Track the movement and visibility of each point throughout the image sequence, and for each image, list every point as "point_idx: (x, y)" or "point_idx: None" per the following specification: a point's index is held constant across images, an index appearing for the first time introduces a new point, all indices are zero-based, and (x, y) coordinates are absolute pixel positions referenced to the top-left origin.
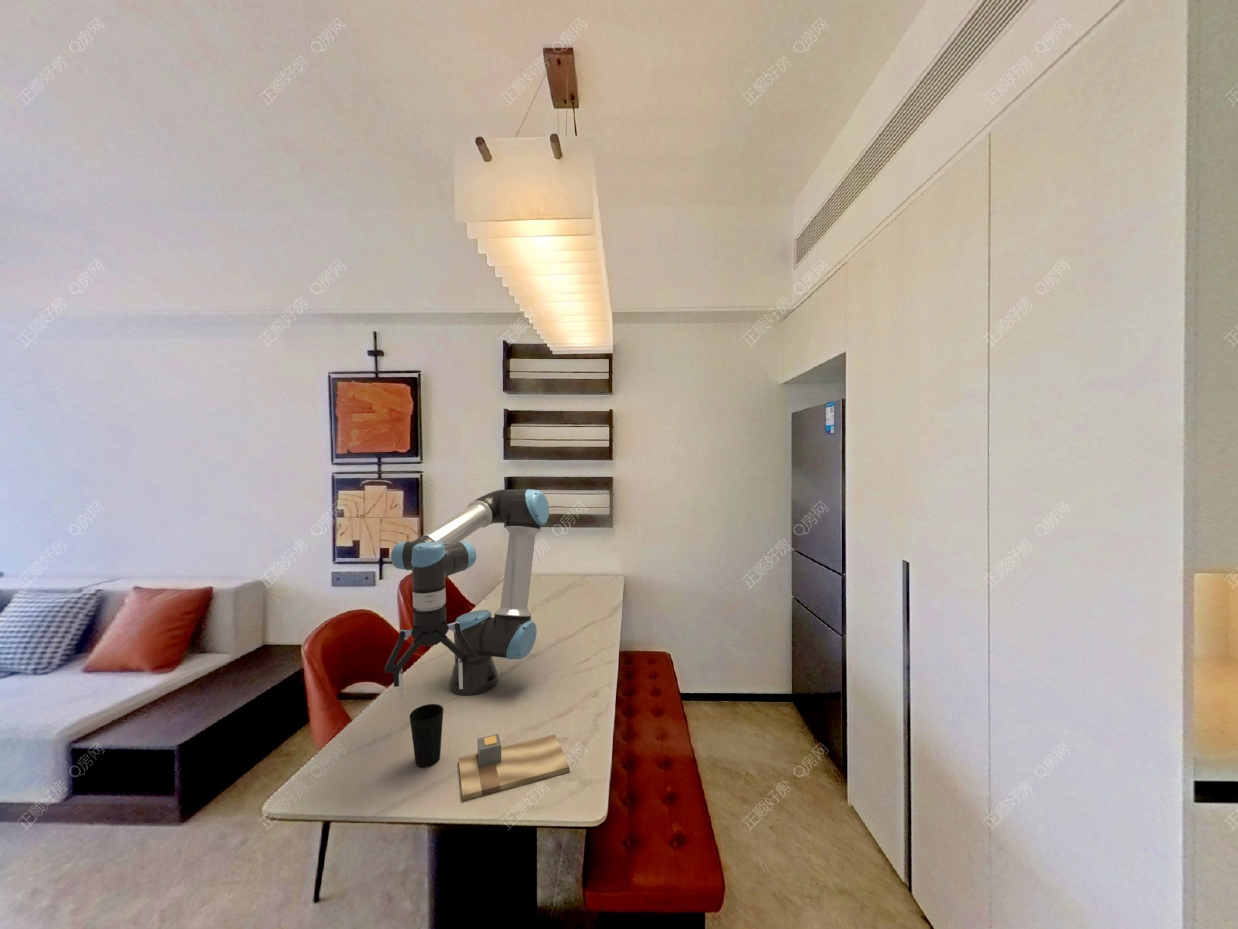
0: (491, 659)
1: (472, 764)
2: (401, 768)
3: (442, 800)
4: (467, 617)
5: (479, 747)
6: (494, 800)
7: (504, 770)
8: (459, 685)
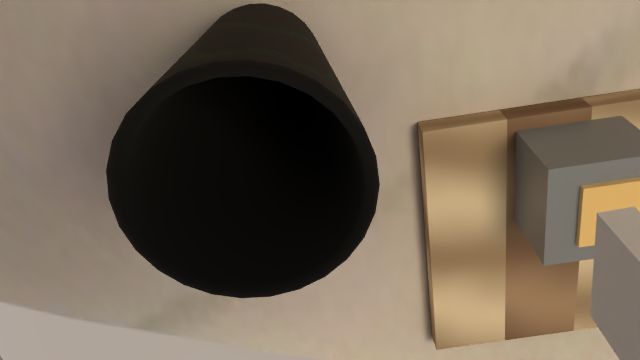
0: None
1: (484, 197)
2: (140, 98)
3: (362, 317)
4: None
5: (547, 245)
6: (537, 349)
7: None
8: (607, 315)
